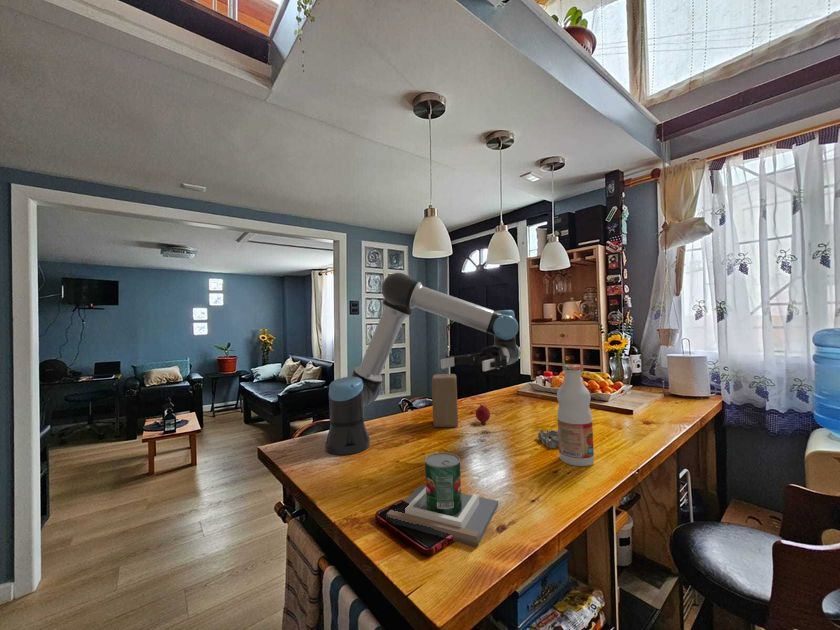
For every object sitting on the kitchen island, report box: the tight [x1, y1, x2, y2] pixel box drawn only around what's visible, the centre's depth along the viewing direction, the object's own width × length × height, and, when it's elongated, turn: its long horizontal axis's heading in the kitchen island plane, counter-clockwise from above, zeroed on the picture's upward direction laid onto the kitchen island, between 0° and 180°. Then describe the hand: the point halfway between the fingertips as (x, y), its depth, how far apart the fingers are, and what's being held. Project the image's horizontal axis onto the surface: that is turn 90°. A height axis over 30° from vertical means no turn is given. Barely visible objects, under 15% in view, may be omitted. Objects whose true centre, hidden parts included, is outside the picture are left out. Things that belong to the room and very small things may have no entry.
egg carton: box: [536, 427, 559, 449], centre depth 116 cm, size 11×8×4 cm
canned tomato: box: [424, 452, 462, 517], centre depth 76 cm, size 8×8×11 cm
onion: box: [475, 403, 491, 424], centre depth 141 cm, size 6×6×8 cm
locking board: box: [386, 484, 499, 548], centre depth 76 cm, size 20×16×3 cm
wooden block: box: [431, 373, 459, 428], centre depth 142 cm, size 10×10×20 cm
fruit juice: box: [556, 364, 595, 467], centre depth 101 cm, size 9×9×28 cm
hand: (461, 365), depth 97 cm, fingers open, 13 cm apart
